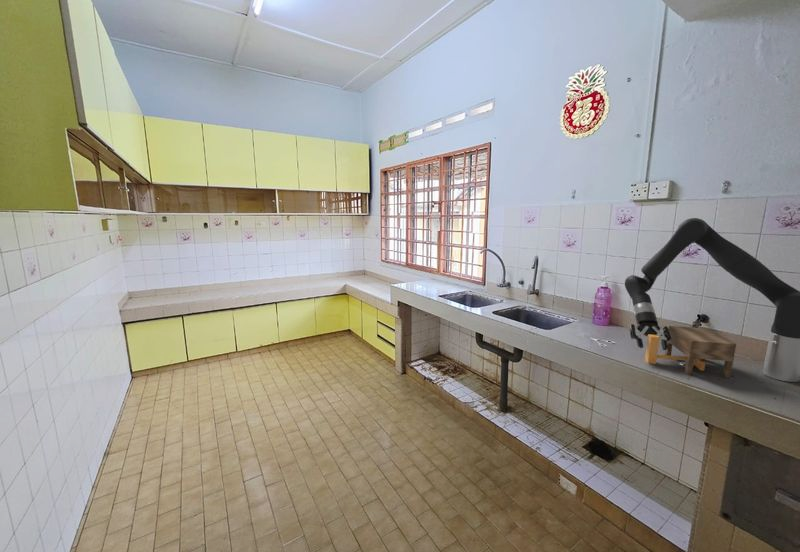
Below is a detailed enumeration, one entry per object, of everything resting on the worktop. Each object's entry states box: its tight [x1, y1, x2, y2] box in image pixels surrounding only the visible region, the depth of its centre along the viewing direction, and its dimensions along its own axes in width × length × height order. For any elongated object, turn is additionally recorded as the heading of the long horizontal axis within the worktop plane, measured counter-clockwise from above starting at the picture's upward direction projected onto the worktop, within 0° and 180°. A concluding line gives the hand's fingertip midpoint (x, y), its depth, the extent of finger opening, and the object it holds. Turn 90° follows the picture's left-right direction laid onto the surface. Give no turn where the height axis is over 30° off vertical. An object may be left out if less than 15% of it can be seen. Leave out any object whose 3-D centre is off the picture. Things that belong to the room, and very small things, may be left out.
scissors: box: [576, 332, 621, 348], centre depth 168 cm, size 11×1×20 cm
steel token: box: [678, 361, 695, 369], centre depth 138 cm, size 5×5×1 cm
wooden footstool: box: [664, 325, 737, 379], centre depth 136 cm, size 14×18×14 cm
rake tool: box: [644, 334, 706, 372], centre depth 139 cm, size 19×8×12 cm, turn 74°
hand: (653, 348), depth 140 cm, fingers open, 8 cm apart
